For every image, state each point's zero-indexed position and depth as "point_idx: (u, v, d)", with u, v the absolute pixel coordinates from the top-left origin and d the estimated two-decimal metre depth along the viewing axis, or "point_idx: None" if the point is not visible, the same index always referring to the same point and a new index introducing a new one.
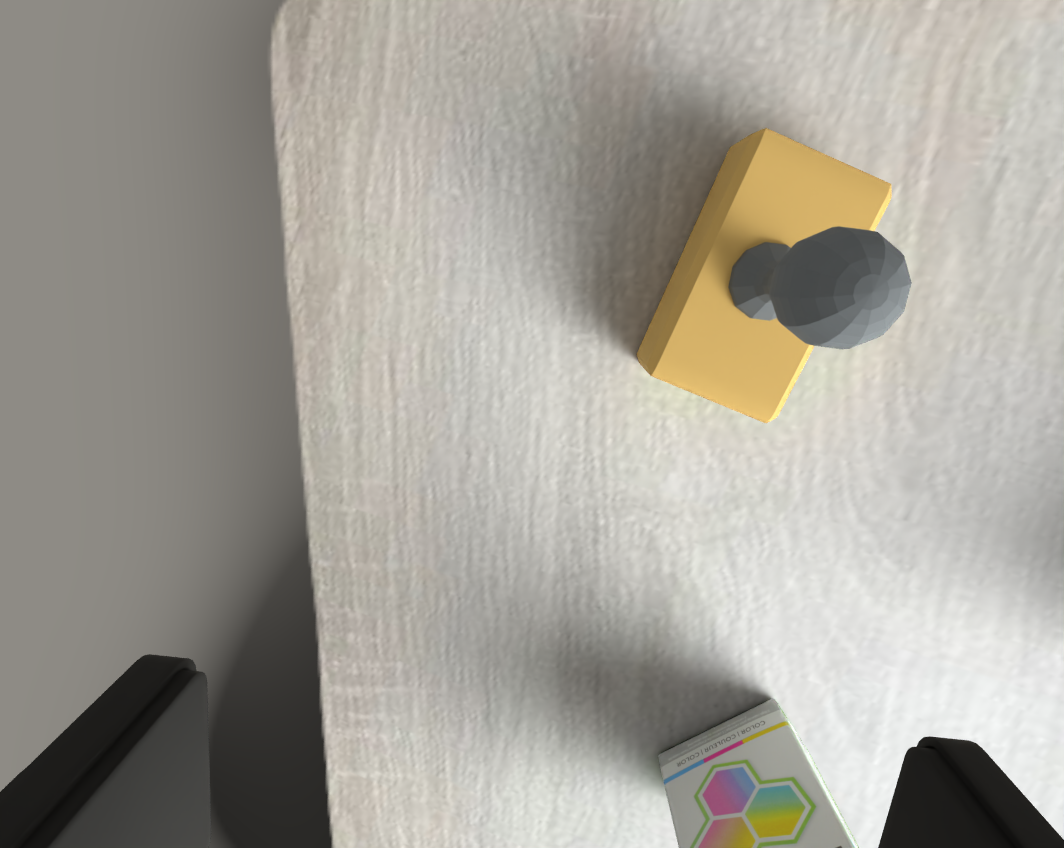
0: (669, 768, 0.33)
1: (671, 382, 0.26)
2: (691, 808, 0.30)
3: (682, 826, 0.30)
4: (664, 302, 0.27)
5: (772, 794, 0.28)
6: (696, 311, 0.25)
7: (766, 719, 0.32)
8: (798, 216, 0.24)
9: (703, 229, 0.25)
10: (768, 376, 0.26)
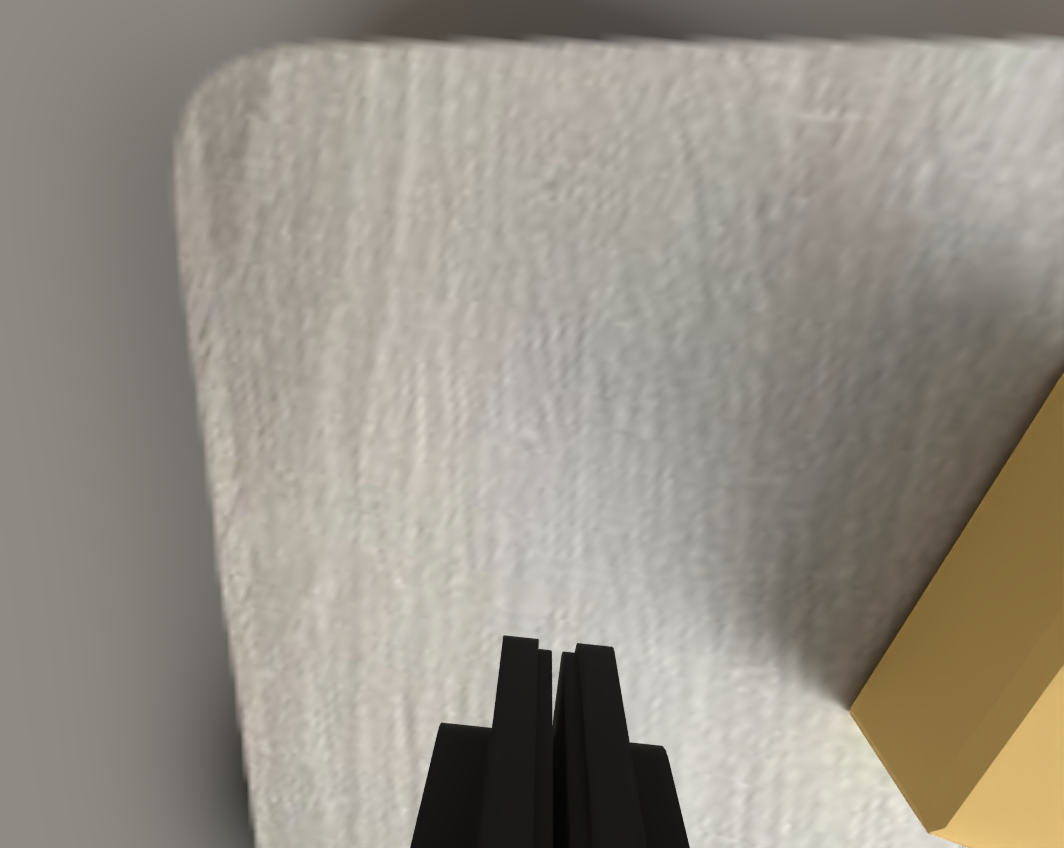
0: None
1: (968, 845, 0.13)
2: None
3: None
4: (927, 650, 0.14)
5: None
6: (1043, 735, 0.12)
7: None
8: None
9: (1045, 554, 0.13)
10: None
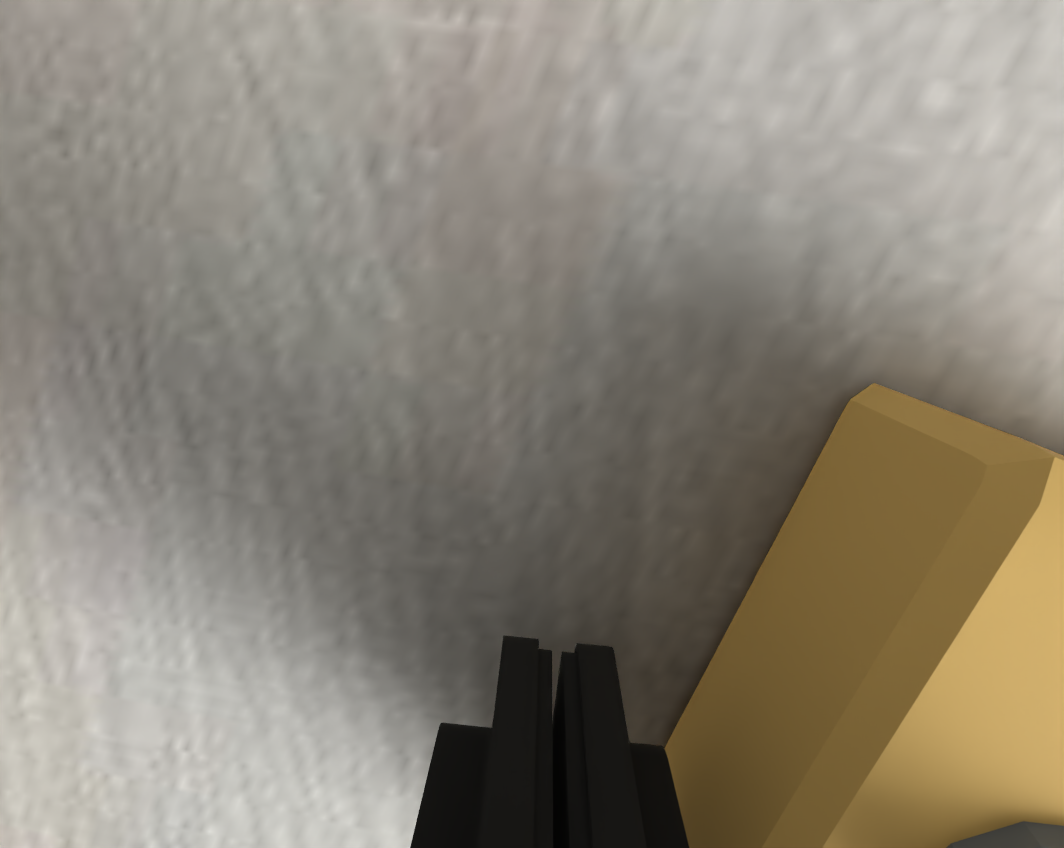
0: None
1: None
2: None
3: None
4: None
5: None
6: None
7: None
8: None
9: (787, 699, 0.08)
10: None
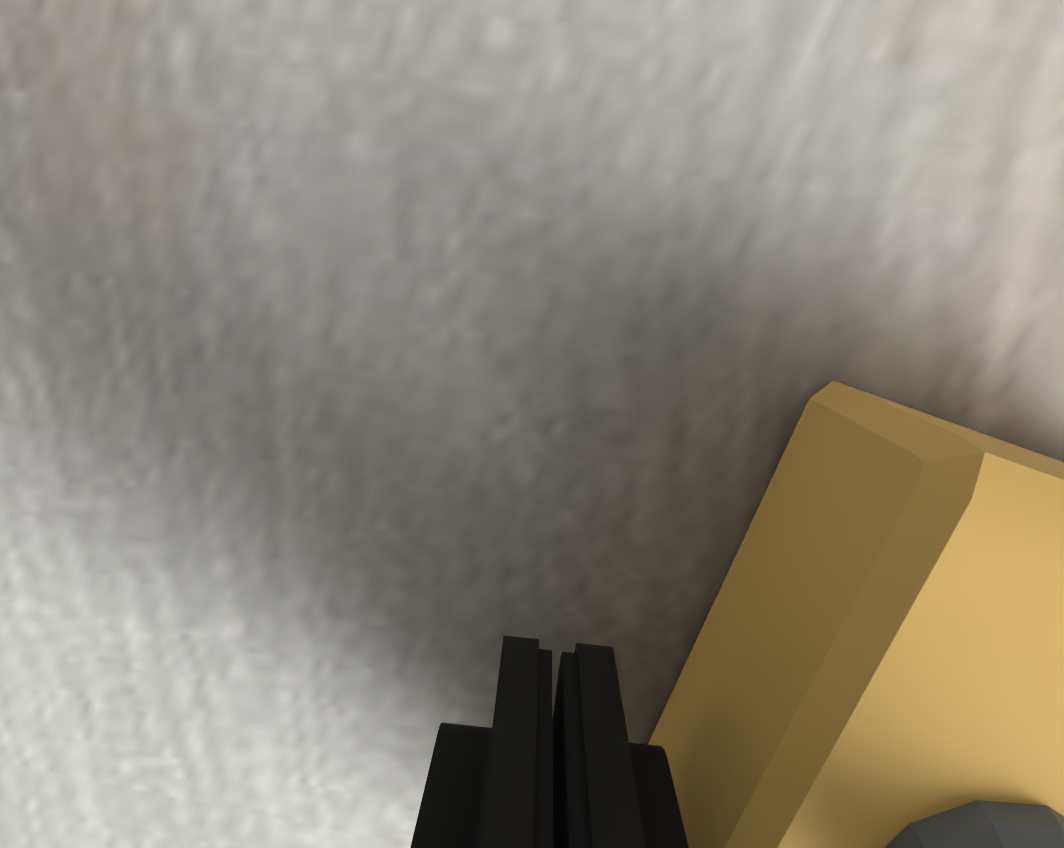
0: None
1: None
2: None
3: None
4: None
5: None
6: None
7: None
8: None
9: (754, 691, 0.08)
10: None
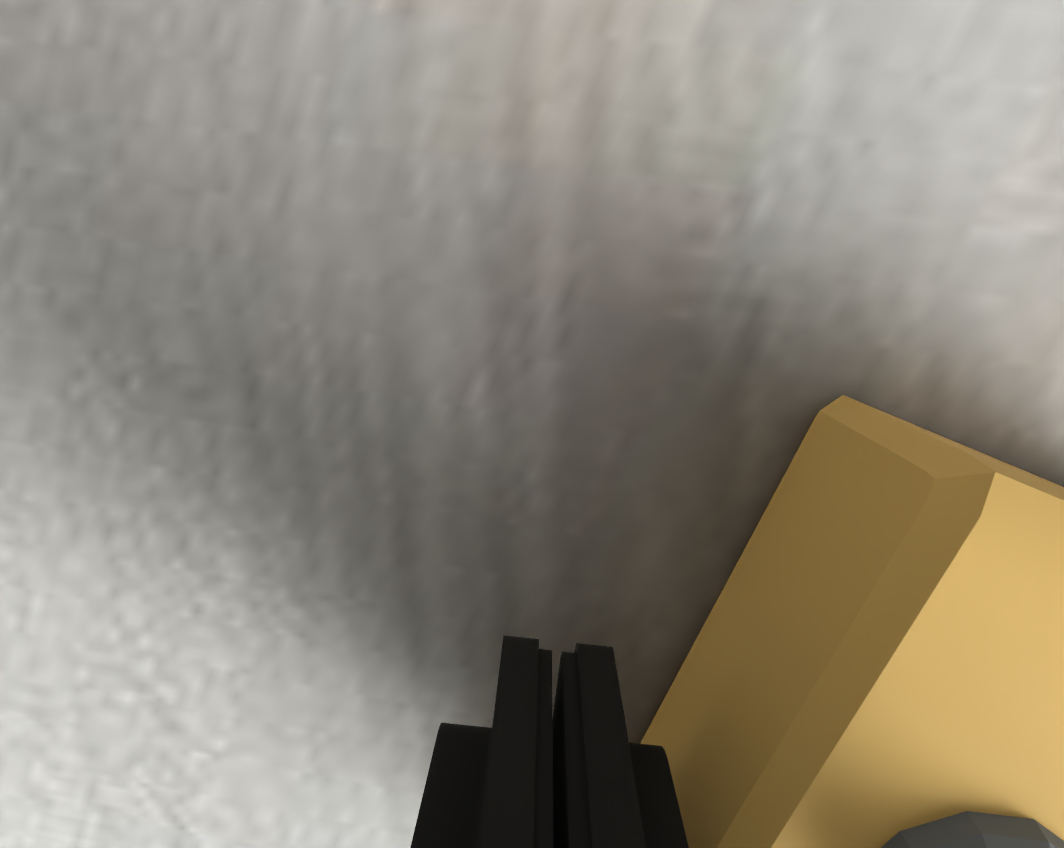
0: None
1: None
2: None
3: None
4: None
5: None
6: None
7: None
8: None
9: (752, 695, 0.08)
10: None
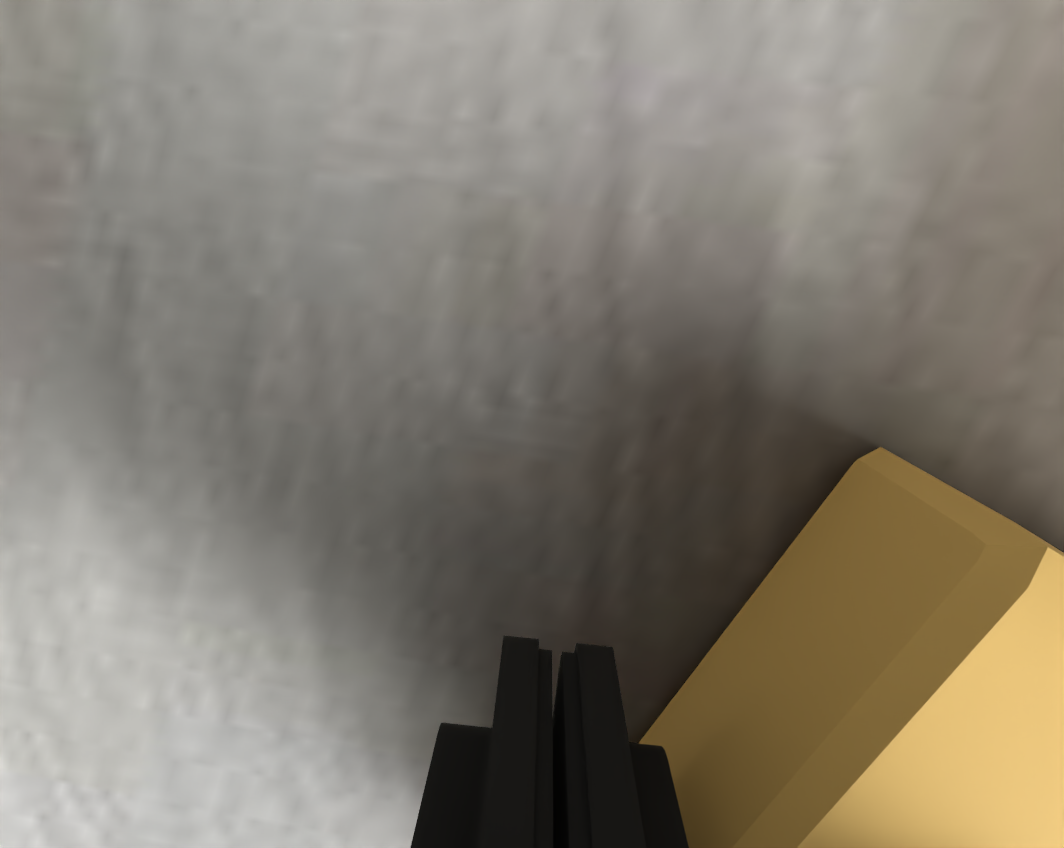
0: None
1: None
2: None
3: None
4: None
5: None
6: None
7: None
8: None
9: (761, 729, 0.09)
10: None
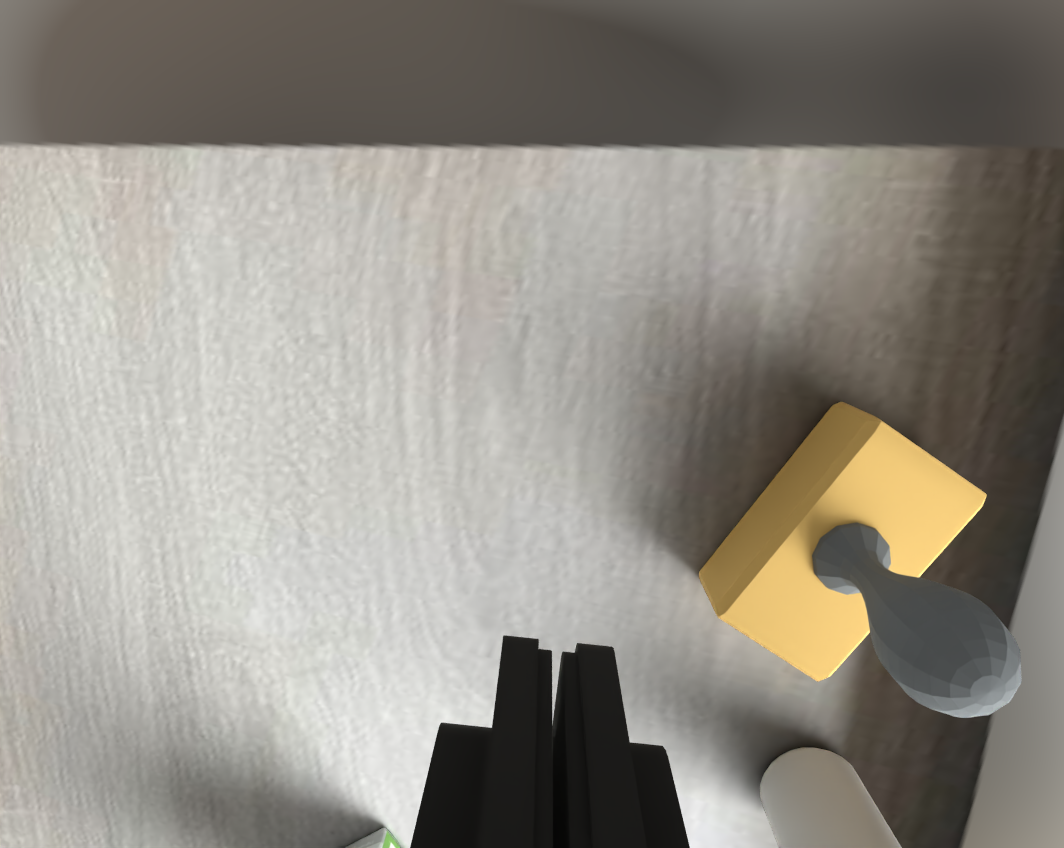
0: None
1: (736, 627, 0.26)
2: None
3: None
4: (740, 537, 0.28)
5: None
6: (776, 570, 0.25)
7: None
8: (893, 505, 0.25)
9: (796, 488, 0.26)
10: (830, 642, 0.26)
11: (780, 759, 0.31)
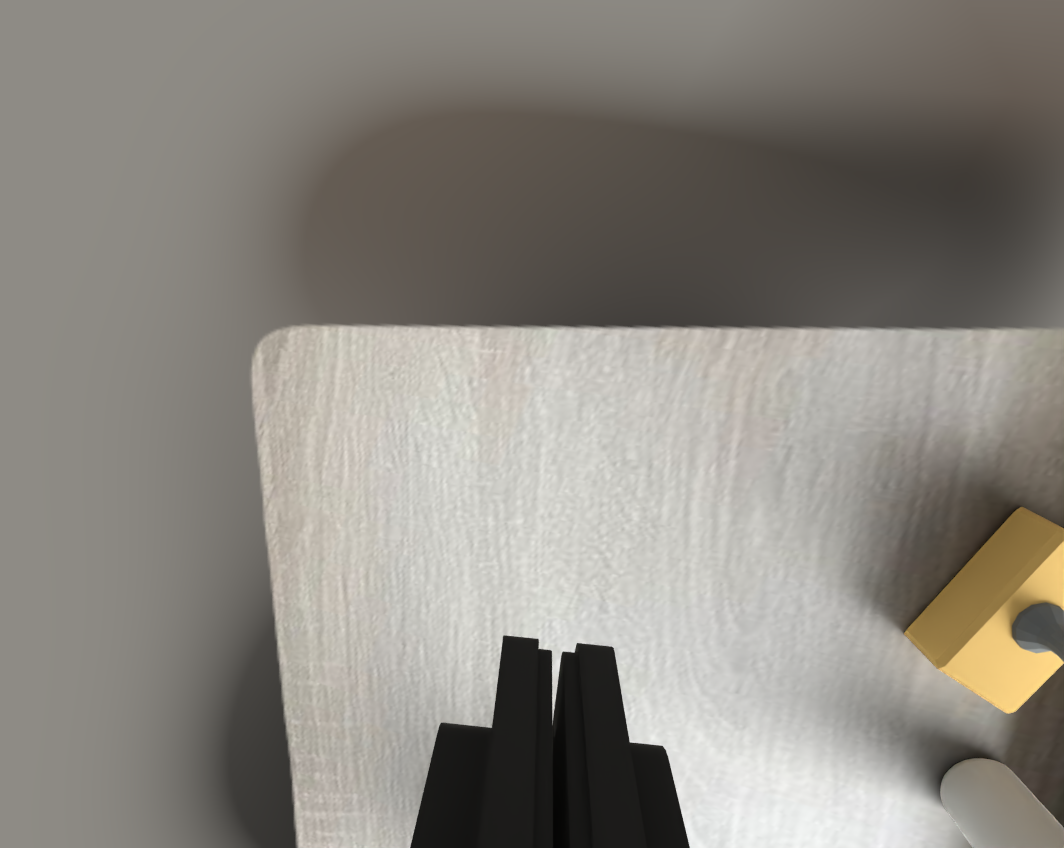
0: None
1: (950, 676, 0.36)
2: None
3: None
4: (945, 607, 0.37)
5: None
6: (985, 636, 0.35)
7: None
8: None
9: (996, 575, 0.35)
10: (1020, 686, 0.36)
11: (958, 767, 0.41)
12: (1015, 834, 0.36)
